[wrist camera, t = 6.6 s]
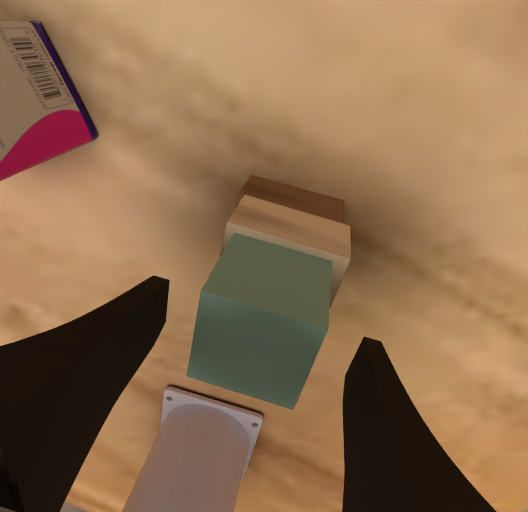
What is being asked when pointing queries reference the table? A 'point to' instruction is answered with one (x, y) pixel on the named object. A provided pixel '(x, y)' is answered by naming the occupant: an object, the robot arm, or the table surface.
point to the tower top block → (293, 233)
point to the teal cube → (261, 320)
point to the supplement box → (36, 101)
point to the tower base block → (293, 198)
